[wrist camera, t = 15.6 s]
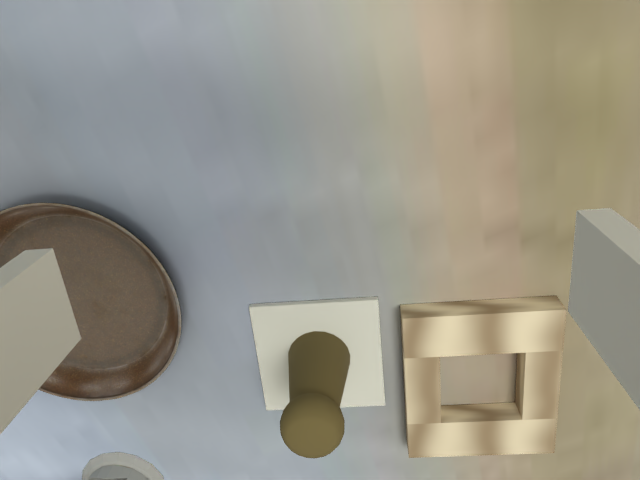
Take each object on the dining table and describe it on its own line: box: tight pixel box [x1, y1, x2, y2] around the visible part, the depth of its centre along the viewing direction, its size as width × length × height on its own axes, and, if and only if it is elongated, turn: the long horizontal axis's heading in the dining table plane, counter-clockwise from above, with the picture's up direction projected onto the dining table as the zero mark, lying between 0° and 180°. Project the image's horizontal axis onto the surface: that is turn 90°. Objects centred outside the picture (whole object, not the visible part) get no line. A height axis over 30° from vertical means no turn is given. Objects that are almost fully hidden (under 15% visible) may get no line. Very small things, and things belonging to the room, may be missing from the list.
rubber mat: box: [249, 297, 385, 410], centre depth 52 cm, size 12×12×1 cm
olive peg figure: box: [280, 331, 350, 458], centre depth 47 cm, size 6×6×11 cm
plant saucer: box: [0, 203, 181, 401], centre depth 50 cm, size 21×21×3 cm
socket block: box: [400, 296, 566, 458], centre depth 51 cm, size 14×16×2 cm
